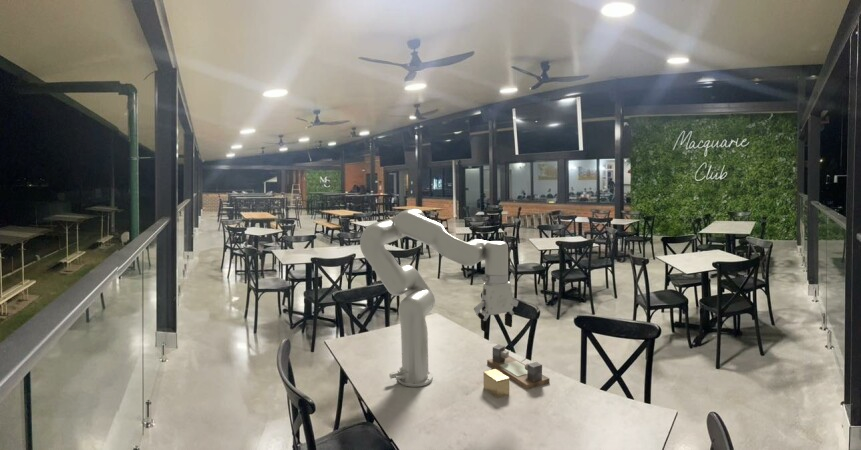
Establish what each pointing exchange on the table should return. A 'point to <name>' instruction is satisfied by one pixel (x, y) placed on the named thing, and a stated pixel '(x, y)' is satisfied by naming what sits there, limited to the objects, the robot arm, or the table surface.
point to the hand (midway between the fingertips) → (496, 328)
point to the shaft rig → (517, 368)
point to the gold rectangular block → (496, 383)
